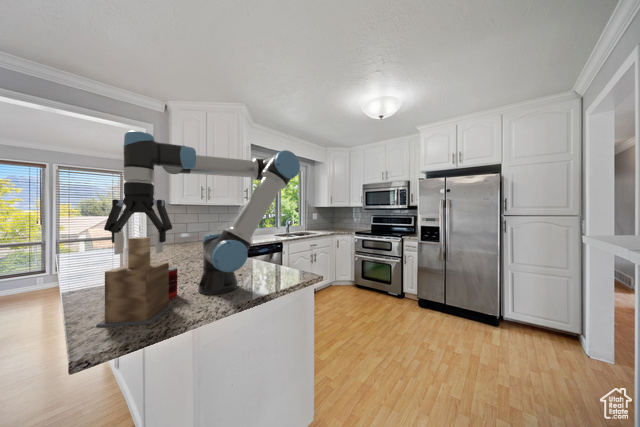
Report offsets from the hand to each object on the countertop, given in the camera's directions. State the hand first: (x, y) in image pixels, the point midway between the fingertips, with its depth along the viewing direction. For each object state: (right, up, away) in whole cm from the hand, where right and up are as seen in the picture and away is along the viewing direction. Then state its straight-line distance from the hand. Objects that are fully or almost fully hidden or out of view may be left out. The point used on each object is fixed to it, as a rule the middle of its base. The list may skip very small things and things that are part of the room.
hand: (139, 253), depth 75 cm
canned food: (-2, -20, +16) cm, 25 cm away
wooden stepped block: (0, -19, 0) cm, 19 cm away
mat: (0, -19, 0) cm, 19 cm away
